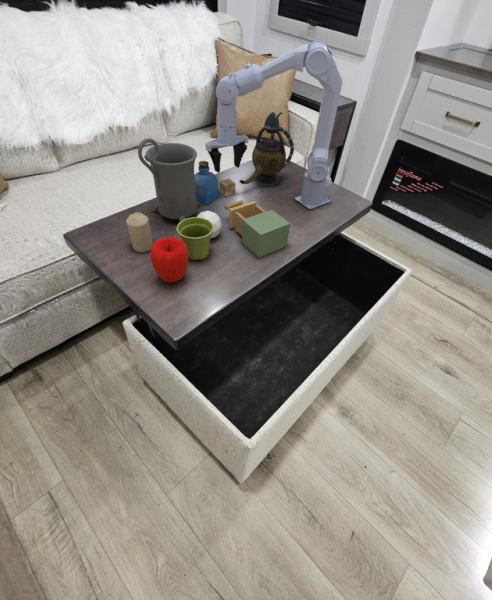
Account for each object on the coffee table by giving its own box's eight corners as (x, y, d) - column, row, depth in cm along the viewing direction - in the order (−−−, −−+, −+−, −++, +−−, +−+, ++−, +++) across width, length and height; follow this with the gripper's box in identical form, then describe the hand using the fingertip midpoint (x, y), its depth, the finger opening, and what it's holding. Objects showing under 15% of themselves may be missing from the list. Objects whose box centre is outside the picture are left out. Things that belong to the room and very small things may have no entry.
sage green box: (241, 242, 97) (242, 219, 92) (269, 232, 102) (271, 209, 96) (258, 258, 93) (260, 234, 87) (286, 246, 97) (290, 223, 92)
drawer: (220, 219, 103) (220, 201, 99) (244, 211, 107) (245, 193, 103) (242, 239, 97) (243, 220, 93) (267, 229, 101) (269, 211, 97)
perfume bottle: (218, 197, 114) (217, 162, 105) (206, 204, 110) (205, 169, 101) (203, 191, 116) (202, 157, 107) (192, 198, 112) (189, 163, 104)
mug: (182, 196, 113) (174, 116, 95) (214, 213, 107) (212, 131, 89) (136, 219, 102) (117, 133, 84) (169, 239, 96) (155, 151, 78)
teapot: (292, 176, 128) (302, 109, 111) (255, 202, 113) (260, 129, 96) (266, 167, 132) (272, 101, 115) (227, 190, 117) (227, 119, 101)
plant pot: (200, 269, 88) (198, 242, 82) (172, 255, 91) (168, 229, 85) (221, 251, 94) (220, 225, 87) (194, 239, 97) (192, 213, 91)
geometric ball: (211, 247, 99) (209, 239, 91) (190, 230, 99) (186, 221, 91) (227, 227, 100) (227, 218, 92) (206, 211, 100) (204, 200, 92)
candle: (148, 254, 91) (141, 222, 84) (129, 250, 91) (121, 219, 84) (156, 242, 95) (150, 211, 88) (138, 239, 95) (131, 207, 88)
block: (228, 189, 118) (228, 178, 115) (235, 194, 116) (235, 183, 113) (219, 191, 117) (219, 180, 114) (225, 196, 114) (225, 186, 112)
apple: (174, 295, 81) (168, 260, 73) (147, 280, 84) (139, 246, 76) (197, 275, 86) (194, 241, 79) (171, 262, 89) (166, 228, 81)
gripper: (239, 116, 106) (238, 159, 115) (199, 124, 99) (201, 168, 109) (252, 124, 102) (250, 167, 112) (211, 132, 95) (213, 177, 105)
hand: (227, 168), depth 110 cm, fingers open, 7 cm apart
